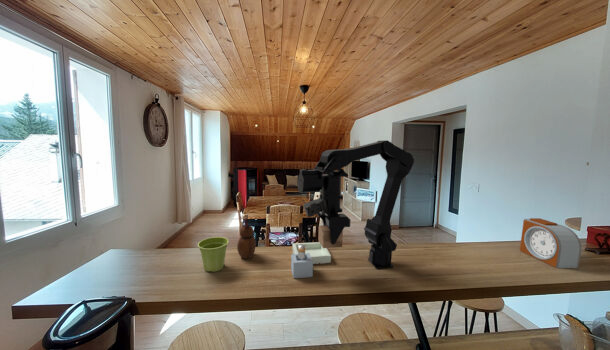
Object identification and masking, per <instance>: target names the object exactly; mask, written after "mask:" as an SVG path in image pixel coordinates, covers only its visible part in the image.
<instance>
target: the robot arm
mask: <svg viewBox="0 0 610 350" xmlns="http://www.w3.org/2000/svg"><path fill="white" fill-rule="evenodd" d="M378 155H379V156H380V157H381V159H383V160H384V162H385V171H386V179H385V182H384V185H383V189H382V192H381V195H380V197H379V202H378V204H377V205H378V206H377V208H376V212H375V215H374V216H373V217H372V218H371V219H370V218H367V219H366V223H365V226H364V227H363V230H364V236H365V238H366V239H367V241H368V243H369V244H370V249H369V252H368V253H369V255H368V262H369V263H370V264H372V266H373V267H374V268H375V269H388V268H389V269H390V268H394V264H392V258H393V257H392V255H393V252H394V251H396V249H397V247H398V244H397V243H396V242H395V241H394V240H393V239H392V238H391V237H392V232H393V231H392V225H391V219H392V215H393V211H394V208H395V205H396V201H397V198H398V196H399V192H400V189H401V185H402V183H403V180H404V179H405V177H407V176H408V175H409V173H410V172H411V170H412V168H413V166H414V164H415V158H414V156H413V154H412V153H410V152H407V151H405V150H404V149H402V148H400V147H399V146H397V145H395V144H393V142H392V141H389V140H378V141H375V142H371V143H367V144H362V145H358V146H355V147H351V148H347V149H346V148H345V149H344V148H343V149H327V150H325V151H323V152H322V153H321V155H320V160H319V161H318V162H317V164H316V165H315V166H314V168H313V169H300V170H299V174H298V177H297V180H296V185H297V191H298V193H300V194H305V193H306V194H307V193H319V192H320V193H319V197H318V198H317V199H316V198H315V199H313V200H310V201H308V202H305V203H303V205H302V206H303V208H304V211H305V213H306V214H305V215H306V216H307V217H308V218H311V217H314V216H315V215H317V216H318V217H319V218H320V219H321V221H322V225H326V226H327V227H328V228H329V232H330V240H331V244H335V243H336V241H337V239H338V237H339V236H340V234H341V232H342V231H343V232H344V229H345V228H350V227H351V220H352V219H350V217H348V216H347V215H346V214H345V213H344V212H343V208H341V200H343V198H344V195H342V178H344V177H345V178H346V177H348V176H349V174H348V173H347V172H345V170H344V168H345V167H348V166H349V165H350V164H351V163H353V162H355V161H359V160H362V159H366V158H371V157H374V156H378ZM321 191H322V192H321Z"/></svg>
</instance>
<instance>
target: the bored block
mask: <svg viewBox="0 0 610 350" xmlns="http://www.w3.org/2000/svg"><path fill="white" fill-rule="evenodd" d="M290 259H291V260H290V261H291V262H290V265H291V266H290V269H291V274H292V278H293V279H301V278H303V279H304V278H313V277H314V275H313V273H314V264H313V260H312V258H311V256H310V253H305V260H300V261H298V254H293V253H291V257H290Z"/></svg>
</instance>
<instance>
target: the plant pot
mask: <svg viewBox="0 0 610 350" xmlns="http://www.w3.org/2000/svg"><path fill="white" fill-rule="evenodd" d="M229 243H230V242H229V239H228V238H227V237H223V236H214V237H207V238H205V239H202V240H200V241H199V242H198V243H197V247H198V248H199V251H200V253H201V259H202V264H203V265H202V266H203V269H204V271H206V272H214V273H216V272H218V271H220V270H222V269H223V268H224V266H225V258H226V251H227V247H228V244H229Z"/></svg>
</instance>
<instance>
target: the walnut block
mask: <svg viewBox="0 0 610 350" xmlns="http://www.w3.org/2000/svg"><path fill="white" fill-rule="evenodd" d="M343 232H344V230H343V231H342V232H341V234H340V236H339V237H338V239H337V241H336V243H335V244H331V240H330V232H329V228H328V227H327V226H326V225H323V224H322V225H318V242H320V244H321V245H322V247H323V248H327V249H332V248H335V249H336V248H342V247H343Z"/></svg>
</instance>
